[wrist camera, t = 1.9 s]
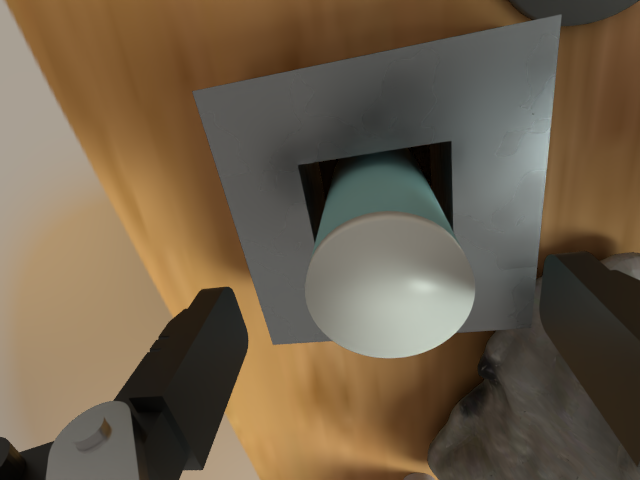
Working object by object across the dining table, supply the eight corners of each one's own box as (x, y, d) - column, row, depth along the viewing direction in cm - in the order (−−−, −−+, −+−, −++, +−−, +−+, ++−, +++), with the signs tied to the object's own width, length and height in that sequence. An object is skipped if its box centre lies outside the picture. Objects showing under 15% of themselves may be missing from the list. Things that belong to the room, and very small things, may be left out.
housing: (502, 26, 15) (561, 14, 10) (494, 268, 20) (531, 327, 16) (236, 82, 17) (192, 91, 13) (291, 287, 22) (272, 344, 18)
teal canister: (418, 131, 17) (475, 209, 8) (423, 217, 19) (474, 353, 10) (325, 146, 18) (288, 231, 9) (339, 227, 20) (320, 362, 11)
